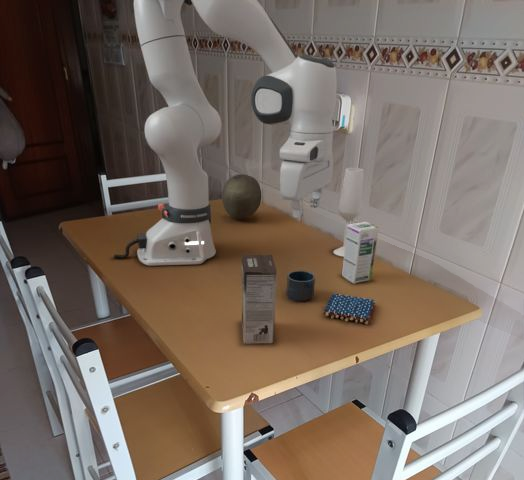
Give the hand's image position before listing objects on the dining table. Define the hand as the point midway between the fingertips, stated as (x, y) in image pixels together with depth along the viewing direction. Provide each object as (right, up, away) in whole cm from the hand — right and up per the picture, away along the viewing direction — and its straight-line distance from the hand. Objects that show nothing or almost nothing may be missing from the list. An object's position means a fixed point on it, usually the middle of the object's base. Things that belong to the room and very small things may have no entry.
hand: (306, 211), depth 110 cm
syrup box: (+15, -12, +22) cm, 29 cm away
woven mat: (+11, -22, +5) cm, 25 cm away
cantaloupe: (-17, +15, +63) cm, 67 cm away
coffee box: (-11, -27, -5) cm, 30 cm away
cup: (-1, -18, +11) cm, 21 cm away
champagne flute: (+15, -2, +38) cm, 41 cm away
